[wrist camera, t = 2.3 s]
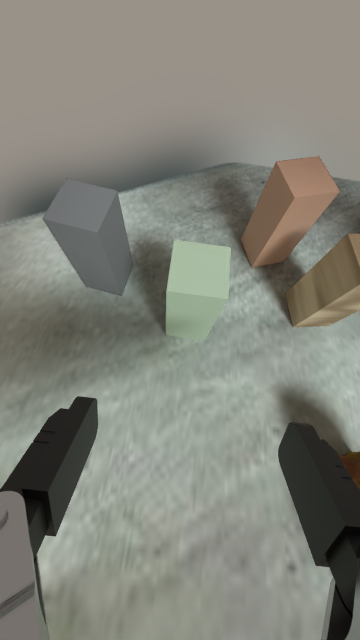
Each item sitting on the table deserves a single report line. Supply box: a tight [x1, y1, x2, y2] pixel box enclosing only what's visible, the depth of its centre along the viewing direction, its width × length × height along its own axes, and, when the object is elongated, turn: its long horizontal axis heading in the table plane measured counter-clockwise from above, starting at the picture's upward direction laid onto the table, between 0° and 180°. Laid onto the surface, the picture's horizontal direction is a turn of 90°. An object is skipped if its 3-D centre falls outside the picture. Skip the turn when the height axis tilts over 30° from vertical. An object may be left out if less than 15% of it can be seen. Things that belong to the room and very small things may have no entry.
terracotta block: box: [241, 156, 340, 267], centre depth 25 cm, size 4×4×10 cm
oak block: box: [285, 234, 360, 327], centre depth 22 cm, size 4×4×10 cm
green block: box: [166, 240, 231, 340], centre depth 21 cm, size 4×4×10 cm
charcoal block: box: [43, 178, 133, 296], centre depth 22 cm, size 4×4×10 cm
